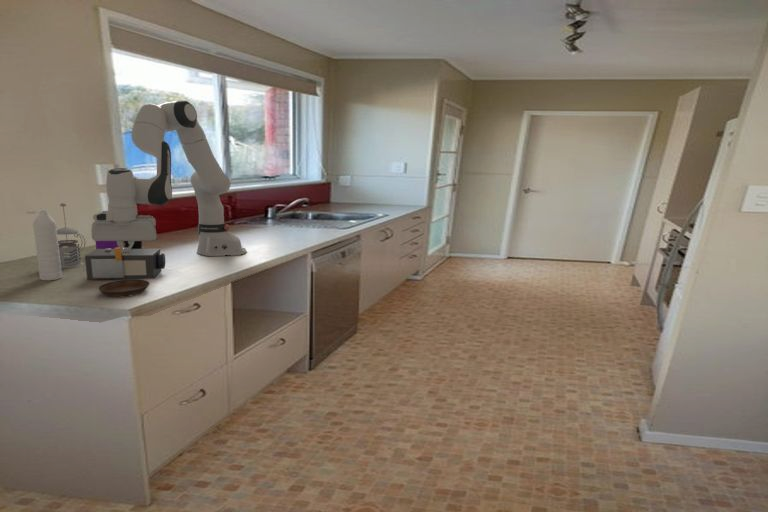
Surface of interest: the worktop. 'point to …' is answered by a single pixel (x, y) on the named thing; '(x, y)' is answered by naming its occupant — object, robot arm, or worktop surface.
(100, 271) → the side door
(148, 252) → the camera housing
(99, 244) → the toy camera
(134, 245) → the drinking cup
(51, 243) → the water bottle
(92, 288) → the worktop surface
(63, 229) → the french press
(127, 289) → the saucer
